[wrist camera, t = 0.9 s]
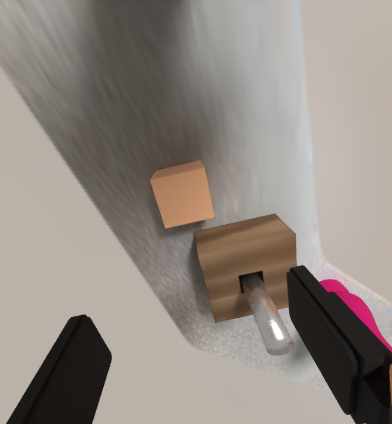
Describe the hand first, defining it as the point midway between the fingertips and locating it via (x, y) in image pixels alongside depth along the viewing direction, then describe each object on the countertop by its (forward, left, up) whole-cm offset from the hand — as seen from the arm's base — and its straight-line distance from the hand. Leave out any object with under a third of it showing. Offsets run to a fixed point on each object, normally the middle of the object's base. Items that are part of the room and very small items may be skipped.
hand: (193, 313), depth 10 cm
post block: (+13, +6, -20) cm, 24 cm away
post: (+13, +6, -14) cm, 20 cm away
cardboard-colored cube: (0, 0, -20) cm, 20 cm away
